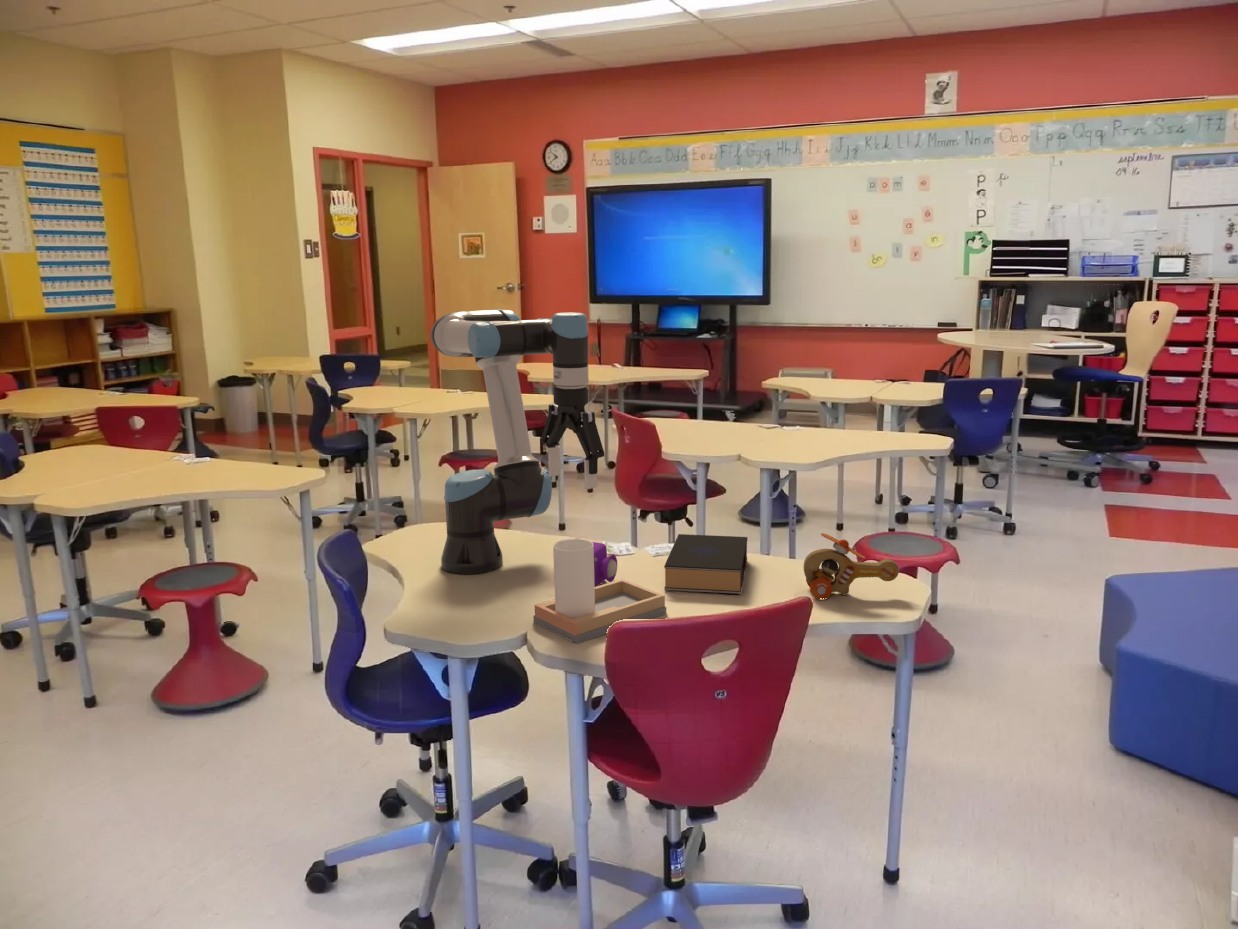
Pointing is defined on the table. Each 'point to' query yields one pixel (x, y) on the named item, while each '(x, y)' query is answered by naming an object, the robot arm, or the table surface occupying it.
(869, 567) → the toy helicopter
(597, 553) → the toy camera
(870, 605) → the table surface
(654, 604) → the board
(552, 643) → the table surface
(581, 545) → the cup
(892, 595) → the table surface
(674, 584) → the book
